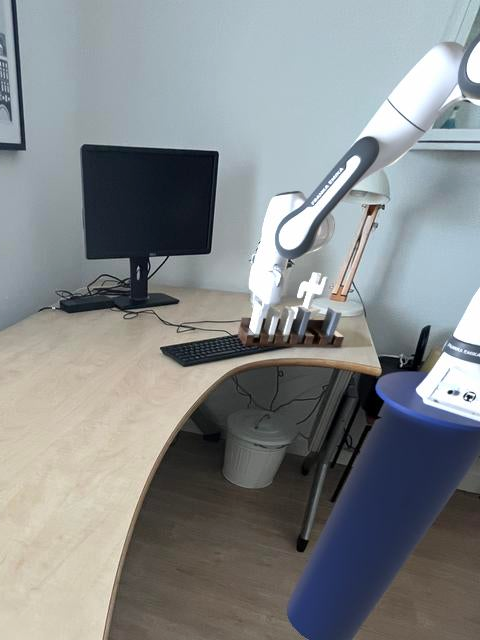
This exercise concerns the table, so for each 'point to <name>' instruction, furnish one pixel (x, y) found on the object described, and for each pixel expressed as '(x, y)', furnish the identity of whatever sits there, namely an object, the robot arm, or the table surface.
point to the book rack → (310, 338)
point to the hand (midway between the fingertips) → (258, 312)
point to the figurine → (311, 293)
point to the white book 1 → (256, 319)
